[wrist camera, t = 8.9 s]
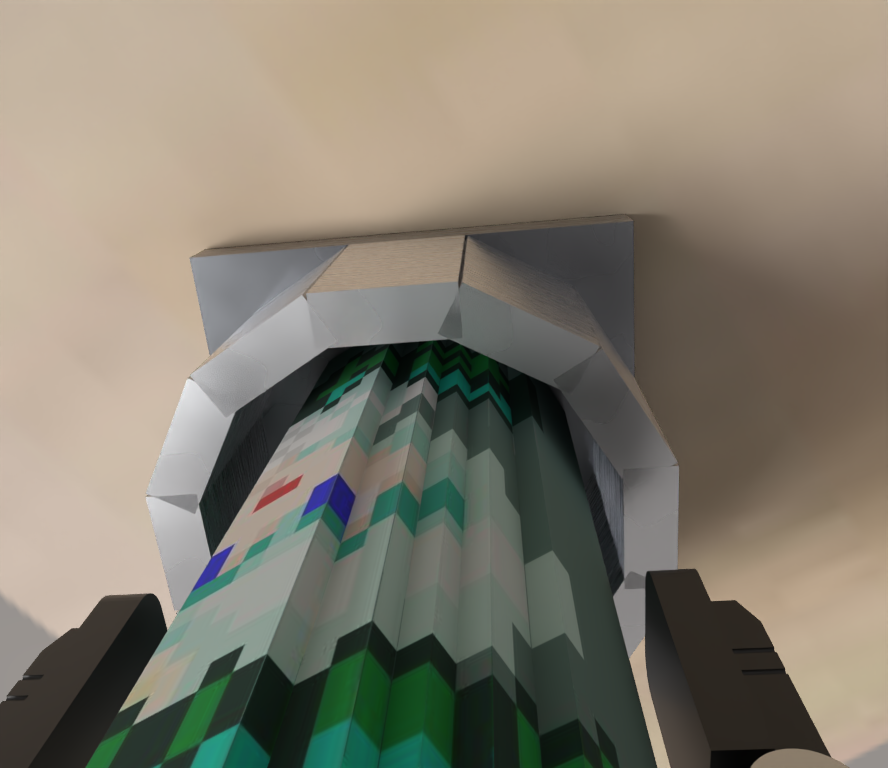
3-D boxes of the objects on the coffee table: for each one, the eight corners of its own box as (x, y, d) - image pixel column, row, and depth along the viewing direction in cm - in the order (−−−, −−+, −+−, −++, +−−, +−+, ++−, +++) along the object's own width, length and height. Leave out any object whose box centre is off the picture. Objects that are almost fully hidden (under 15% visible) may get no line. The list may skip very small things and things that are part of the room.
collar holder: (625, 214, 18) (682, 263, 13) (629, 581, 21) (674, 736, 16) (204, 249, 19) (98, 309, 14) (273, 598, 22) (210, 751, 17)
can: (474, 270, 18) (435, 949, 3) (606, 477, 19) (945, 1520, 5) (262, 402, 19) (-385, 1277, 5) (402, 585, 21) (220, 1647, 6)
